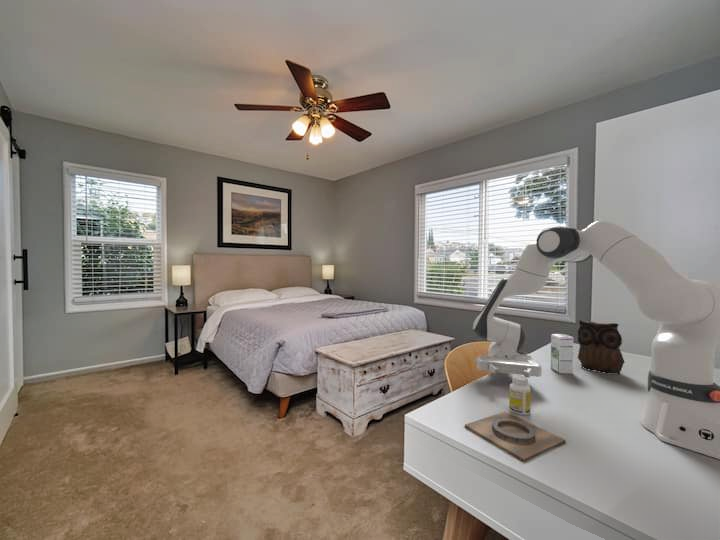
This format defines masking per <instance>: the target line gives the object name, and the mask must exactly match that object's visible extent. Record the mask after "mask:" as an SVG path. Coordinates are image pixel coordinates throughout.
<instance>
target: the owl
mask: <svg viewBox="0 0 720 540" xmlns="http://www.w3.org/2000/svg"><path fill="white" fill-rule="evenodd" d="M578 323H579V328H578V329H577V341H578V343H579V349H578V355H577V359H578V360H579V361H580V364H581V365H580V366H582V367H584V368H586V369H585V370H587V369H590V370H589V371H592V370H596V371H600V372H599V373H602V372H605V373H604V374H606V373H617V374H616V375H621V372H622V368H623V367H624V364H625V363H626V362H625V360H624V357H623V354H622V352H621V348H620V347H621V346H622V345H623V343H622V342H623V339H622V334H621V333H620V332H619V330H618V327H619V323H615V322H614V323H613V322H603V321H602V322H600V321H593V320H592V321H587V320H582V319H579V321H578ZM582 367H581V368H582ZM584 368H583V369H584ZM596 371H595V372H596Z"/></svg>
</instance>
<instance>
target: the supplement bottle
mask: <svg viewBox="0 0 720 540" xmlns="http://www.w3.org/2000/svg"><path fill="white" fill-rule="evenodd" d="M511 378H512V380H511V381H512V382H511V383H510V384H509V391H508V392H509V400H508V401H509V405H508V407H509V411H510V412H512V413H513V414H515V415H516V414H517V415H519V416H528V415H530V414H531V395H532V394H531V393H532V392H531V387H530V385H528V383H529V379H528V377H525V376H524V375H518V374H513V375H512V377H511Z"/></svg>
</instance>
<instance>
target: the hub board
mask: <svg viewBox="0 0 720 540" xmlns="http://www.w3.org/2000/svg"><path fill="white" fill-rule="evenodd" d="M464 427H465V428H466V429H467V430H470V431H471V432H473V433H474V434H476V435H478V436H479V437H480V438H483V439H484V440H486V441H488V442H489V443H491V444H493V445H494V446H496V447H498V448H499V449H501V450H502V451H504V452H506V453H508V454H509V455H511V454H512V455H511V456H513V457H514V456H515V457H514V458H516V459H518V460H520V461H521V462H523V463H524V462H525V463H526V462H527V461H530V460H531V459H533V458H535V457H538V456H539V455H541V454H544V453H546V452H548V451H550V450H552V449H554V448H556V447H560V445H562V444H565V443H566V439H565V438H562V437H560V436H558V435H556V434H554V433H552V432H551V431H548V430H546V429H544V428H541V427H539V426H537V425H535V424H533V423H530V422H528V421H526V420H524V419H522V418H520V417H518V416H516V415H514V414H511V412H510V413H509V412H507V411H503V412H499V413H496V414H493V415H490V416H487V417H484V418H481V419H478V420H474V421H472V422H468V423H466V424H464Z"/></svg>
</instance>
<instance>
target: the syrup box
mask: <svg viewBox="0 0 720 540" xmlns="http://www.w3.org/2000/svg"><path fill="white" fill-rule="evenodd" d="M550 335H551V337H550V369H552V370H553V371H555V372H557V373H558V374H573V373H574V337H573V336H570V335H568V334H563V333H552V334H550Z"/></svg>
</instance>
